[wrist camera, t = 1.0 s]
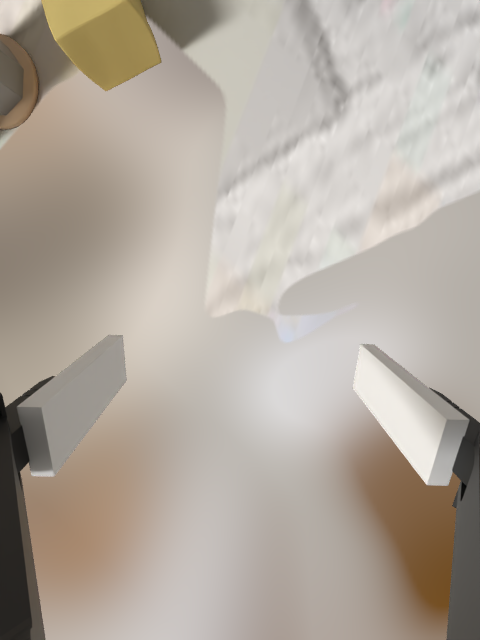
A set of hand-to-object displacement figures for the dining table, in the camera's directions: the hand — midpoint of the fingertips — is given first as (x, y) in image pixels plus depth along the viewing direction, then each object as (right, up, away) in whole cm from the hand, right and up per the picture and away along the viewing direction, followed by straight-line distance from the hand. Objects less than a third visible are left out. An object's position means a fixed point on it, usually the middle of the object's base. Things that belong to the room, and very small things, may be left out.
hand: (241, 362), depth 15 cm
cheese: (-17, +43, +26) cm, 53 cm away
